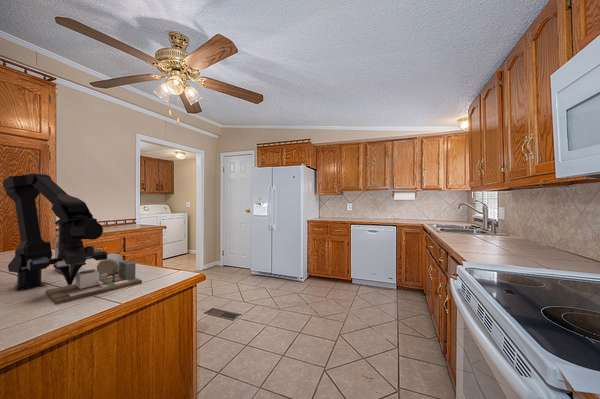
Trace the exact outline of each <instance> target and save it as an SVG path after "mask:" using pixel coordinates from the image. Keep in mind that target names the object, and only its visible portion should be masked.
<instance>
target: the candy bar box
mask: <svg viewBox="0 0 600 399" xmlns="http://www.w3.org/2000/svg"><path fill="white" fill-rule="evenodd" d="M58 242H59V231H58V232H54V258H58V246H59V244H58ZM69 266H70V265H69ZM54 271H56V272H57V273H59V274H62V272H61V271H60V269H56V268H54ZM69 272H70V268H69ZM62 275H63V274H62Z"/></svg>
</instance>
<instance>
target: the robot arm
mask: <svg viewBox="0 0 600 399" xmlns="http://www.w3.org/2000/svg"><path fill="white" fill-rule="evenodd" d="M2 186H3V187H2V188H4V191H5V194H6V196H7V197H8V198H10V199H11V200H12V201H13V202H14V206H15V212H16V220H17V224H18V225H17V227H18V231H19V238H20V243H19V244H18V246H17V247H16V249H15V250H14V257H13V258H12V259H11V261H10V262H9V263H8V265H7V268H8V269H7V270H8V272H9V273H16V275H17V276H16V277H17V278H16V284H15V285H13V287H14V290H16V291H17V292H18V291H23V290H27V289H28V290H29V289H32V288H38V287H43V286H45V283H44V282H43V281H42V276H43V275H42V274H43V273H42V270H45V269H47V268H48V267H50V266H53V268H54V269H55V268H56V269H60V271H61V272H62V276H63V278H64V279H65V281H66V284H67V286H69V285H73V284H74V282H75V276H76V274H77V272H78V271H79V270H80V269H81V268H82V267H83V266H86V265H87V260H90V259H94V260H95V261H101V260H104V259H107V255H108V253H107V251H106V250H102V249H97V250H96V249H95V247H94V245H89V246H85V247H84V243H83V240H89V241H90V240H91V241H92V240H93V241H94V240H95V241H96V240H97V239H99V238H101V236H102V235H103V232H104V227H103V226H102V225H101V224H100V222H98V221H97V220H98V218H94V217H93V216H94V215H93V214H92V213H91V211H90V209H89V206H87V203H86V202H85V201H83V200H82V199H80V198H78V197H75V196H72V195H70V194H68V193H67V192H66V191H65V190H64V189H63V188H61V187H60V186H59V185H58V184H57V183H56V182H55V181H54V180H53V179H52V177H51V176H50V175H49V174H45V173H28V174H20V175H9V176H7V177H6V178H4V179H3V181H2ZM40 194H41V195H42V196H43V197H45V199H47V200H48V201H49V203H50V204H51V205H52V206H51V211H52V212H53V213H54V215H55V216H56V217H57V218H58V220H56V221H55V222H54V225H58V232H59V242H58V244H59V246H58V258H55V257H53V251H52V247H51V246H52V245H51V242H49V241H45V240H44V239H42V238H43V237H42V235H41V233H42V232H41V229H40V221H39V215H38V208H37V203H36V202H37V201H36V199H38V198H37V197H38V196H39V195H40ZM69 265H70V266H69ZM69 268H70V272H69Z"/></svg>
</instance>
